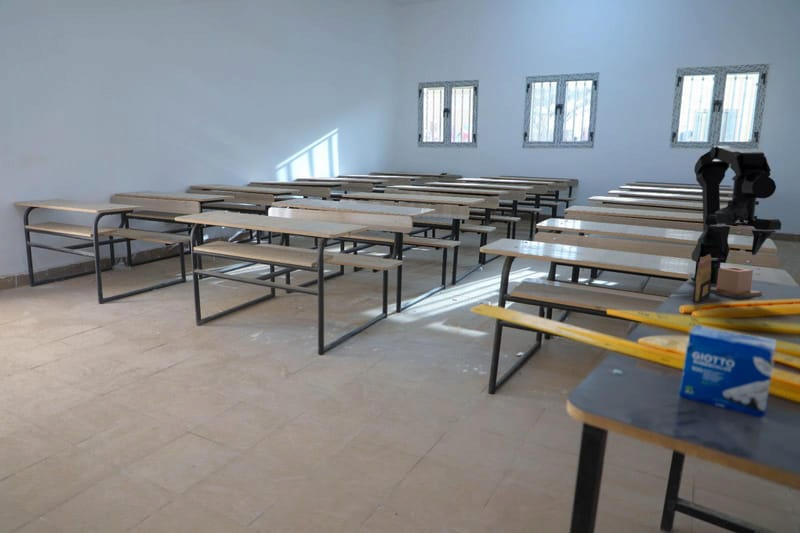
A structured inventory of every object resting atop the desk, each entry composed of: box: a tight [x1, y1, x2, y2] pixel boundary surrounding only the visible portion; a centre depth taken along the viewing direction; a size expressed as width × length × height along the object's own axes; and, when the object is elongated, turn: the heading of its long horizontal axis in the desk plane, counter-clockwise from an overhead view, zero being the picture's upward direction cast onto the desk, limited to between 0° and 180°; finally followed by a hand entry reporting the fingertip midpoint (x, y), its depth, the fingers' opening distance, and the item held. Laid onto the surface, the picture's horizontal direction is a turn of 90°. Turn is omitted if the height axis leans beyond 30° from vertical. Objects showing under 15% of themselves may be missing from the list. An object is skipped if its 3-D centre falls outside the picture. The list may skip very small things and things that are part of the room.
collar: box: [716, 266, 754, 293], centre depth 157 cm, size 6×6×6 cm
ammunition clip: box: [692, 254, 712, 304], centre depth 148 cm, size 11×2×12 cm, turn 139°
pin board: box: [710, 286, 763, 299], centre depth 157 cm, size 10×10×5 cm
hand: (737, 252), depth 155 cm, fingers open, 9 cm apart
